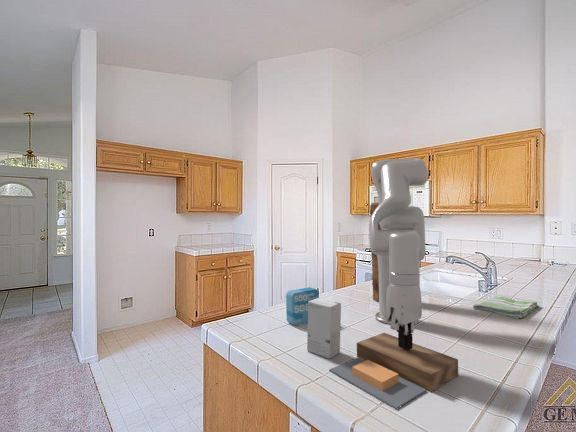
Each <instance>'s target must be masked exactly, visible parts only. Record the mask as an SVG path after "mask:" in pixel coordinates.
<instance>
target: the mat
mask: <svg viewBox="0 0 576 432" xmlns="http://www.w3.org/2000/svg"><path fill="white" fill-rule="evenodd" d="M364 361H365V360H363V359H361V358H359V357H355V358H354V359H351V360H349V361H347V362H344V363H341V364H339V365H337V366H334V367H331V368H329V369H328V370H329V372H330V373H332V374H333V375H336V376H337V377H339V378H340V379H342V380H344V381H346V382H348V383H349V384H351V385H353V386H354V387H356V388H358V389H360V390H362V391H363V392H365V393H366V394H369V395H370V396H372V397H373V396H374V398H375V397H376V398H375V399H377V400H379V401H380V400H381V402H382V403H383V404H385V403H386V405H387V406H389V405H390V406H389V407H391V408H392V407H393V408H392V409H394V408H395V409H394V410H396V409H397V408H398V409H400V408H401V407H400V406H402V405H403V406H405V405H406V404H408V403H409V402H408V401H410V400H411V401H413V400H414V398H415V397H416V398H418V397H419V396H421V395H422V393H423V394H424V393H426V392H427V390H426V389H424V388H422V387H420V386H418V385H416V384H414V383H411V382H409V381H407V380H405V379H403V378H401V377H399V382H398V383H396V384H395V385H393V386H391V387H389V388H387V389H386V390H384V391H381V390H379V389H377V388H376V387H374V386H372V385H370V384H368V383H366V382H365V381H363V380H361V379H359V378H357V377H355V376H353V375H352V367H353V366H355V365H358V364H360V363H362V362H364ZM420 394H421V395H420ZM417 396H418V397H417ZM416 398H415V399H416ZM412 399H413V400H412ZM411 401H410V402H411ZM407 402H408V403H407ZM405 403H406V404H405ZM404 404H405V405H404ZM403 406H402V407H403ZM399 407H400V408H399ZM398 409H397V410H398Z"/></svg>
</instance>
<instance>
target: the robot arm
mask: <svg viewBox="0 0 576 432" xmlns="http://www.w3.org/2000/svg"><path fill="white" fill-rule="evenodd" d="M370 173H371V180H372V183H373V185H374V188H375V190H376V192H377V196H378V203H379V206H378V207H377V208H376V209H375V210H374V212H373V214H372V216H371V218H369V224H368V235H369V236H368V240H369V243H368V244H369V248H370V252H371V251H372V252H373V253H374V254H375V255H377V258H378V270H379V302H378V306H379V308H378V311H379V312H376V313H375V316H374V317H375V319H376V320H377V322H380V323H383V324H389V325H390V329H391V330H394V331H396V333H397V334H398V335H397V338H398V346H399V347H401V348H403V349H406V350H410V349H412V348H413V345H412V343H413V333H414V331H415V325H416V324H417V323H419V320H420V319H421V318H422V314H423V311H422V310H423V305H422V302H423V301H422V293H421V292H422V291H421V283H420V282H421V280H420V279H421V278H420V274H421V273H420V261H423V260H424V259H425V256H426V230H425V229H426V226H425V215H424V211H423V210H422V209H421V207H418V206H416V205H415V206H413V205H412V206H410V205H411V203H412V197H411V190H410V187H416V186H417V187H419V186H424V185H425V184H426V183H427V181H428V177H429V172H428V166H427V164H426V162H425V161H424V160H423V159H421V158H419V157H405V158H386V159H379V160H376V161H374V162H373V163H372V164H371V167H370ZM378 224H380V228H381V229H382V230H379V229H378Z"/></svg>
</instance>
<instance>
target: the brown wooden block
mask: <svg viewBox="0 0 576 432" xmlns="http://www.w3.org/2000/svg"><path fill="white" fill-rule="evenodd" d="M412 345H413V348H412V349H410V350H406V349H403V348H401V347H399V346H398V336H397V337H396V336H394V335H391V334H388V333H385V332H382V333H378V334H377V335H374V336H371V337H368V338H366V339H363V340H361V341H357V342H356V358H358V357H359V358H361V359H363V360H365V361H367V360H370V361H372V362H374V363H376V364H378V365H380V366H383V367H385V368H387V369H389V370H391V371H393V372H395V373H398V376H399V377H401V378H403V379H405V380H407V381H409V382H411V383H414V384H416V385H418V386H420V387H422V388H424V389H426V392H427V391H428V392H429V393H434V392H435V391H437V390H438V389H440V388H441V387H443V386H444V385H446V384H447V383H449V382H450V381H452V380H453V379H456V378H457V377H459V359H458V358H455V357H453V356H449V355H448V354H445V353H442V352H438V351H436V350H434V349H431V348H427V347H424V346H422V345H419V344H416V343H414V342H412ZM439 387H440V388H439Z"/></svg>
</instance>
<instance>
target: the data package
mask: <svg viewBox="0 0 576 432" xmlns="http://www.w3.org/2000/svg"><path fill="white" fill-rule="evenodd" d="M317 298H320V293H319V290H318V289H316V288H313V287H311V286H309V287H302V288H298V289H292V290H288V291H287V292H286V294H285V299H286V300H285V304H286V305H285V306H286V308H285V309H286V310H285V311H286V312H285V313H286V322H287V323H289V324H291V325H293V326H295V327H297V326H300V325H301V326H302V325H305V324H308V301H311V300H314V299H317Z"/></svg>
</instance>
